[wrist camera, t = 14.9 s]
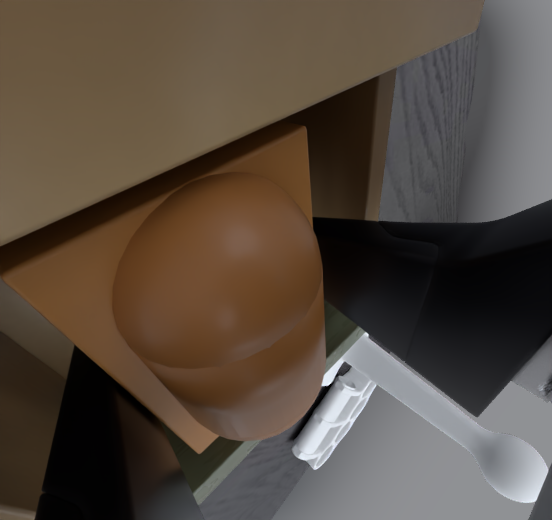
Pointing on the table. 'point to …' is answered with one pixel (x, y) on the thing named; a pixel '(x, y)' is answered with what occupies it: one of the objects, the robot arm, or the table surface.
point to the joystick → (452, 423)
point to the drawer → (196, 467)
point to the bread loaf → (195, 288)
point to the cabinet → (177, 83)
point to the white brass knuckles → (333, 417)
